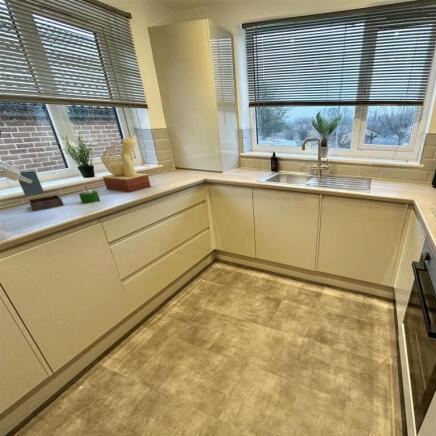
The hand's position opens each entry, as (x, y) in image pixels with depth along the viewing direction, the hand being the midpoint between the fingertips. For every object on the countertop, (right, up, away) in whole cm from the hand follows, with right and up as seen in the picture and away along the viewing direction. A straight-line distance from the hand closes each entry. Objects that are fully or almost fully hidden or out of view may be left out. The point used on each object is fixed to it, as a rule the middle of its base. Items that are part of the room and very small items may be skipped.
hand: (31, 181), depth 114 cm
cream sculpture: (+10, +3, +54) cm, 55 cm away
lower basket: (-12, -12, +19) cm, 25 cm away
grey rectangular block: (0, -6, +2) cm, 6 cm away
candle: (+7, -8, +26) cm, 28 cm away
